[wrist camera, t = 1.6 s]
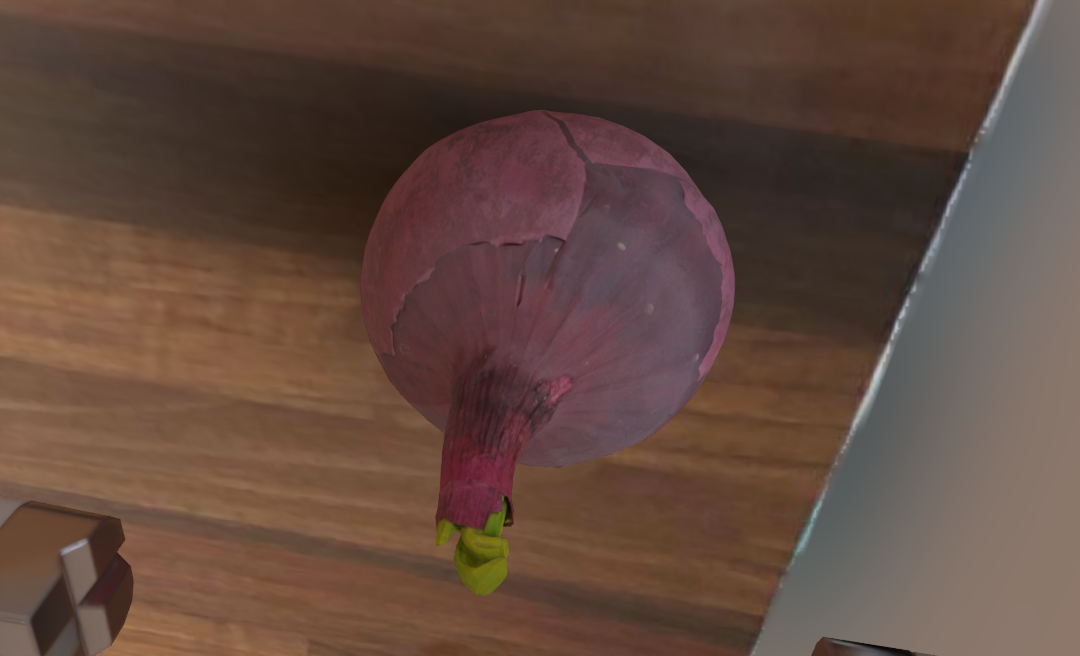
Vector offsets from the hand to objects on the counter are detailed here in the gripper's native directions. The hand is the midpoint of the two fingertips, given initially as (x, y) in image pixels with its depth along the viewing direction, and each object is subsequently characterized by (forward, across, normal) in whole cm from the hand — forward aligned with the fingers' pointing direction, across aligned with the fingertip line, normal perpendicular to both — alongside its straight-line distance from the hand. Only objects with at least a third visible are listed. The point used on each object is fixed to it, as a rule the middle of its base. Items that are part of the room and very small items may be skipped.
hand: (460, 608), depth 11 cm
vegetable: (+10, 0, -1) cm, 11 cm away
